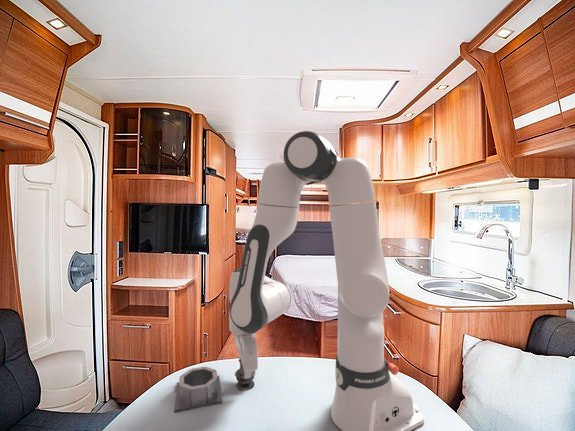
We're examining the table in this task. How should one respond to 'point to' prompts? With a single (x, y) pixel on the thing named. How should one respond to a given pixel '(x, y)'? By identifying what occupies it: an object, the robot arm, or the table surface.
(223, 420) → the table surface
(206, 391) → the duct collar
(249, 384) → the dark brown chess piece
